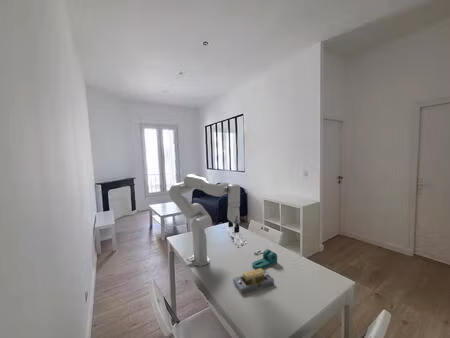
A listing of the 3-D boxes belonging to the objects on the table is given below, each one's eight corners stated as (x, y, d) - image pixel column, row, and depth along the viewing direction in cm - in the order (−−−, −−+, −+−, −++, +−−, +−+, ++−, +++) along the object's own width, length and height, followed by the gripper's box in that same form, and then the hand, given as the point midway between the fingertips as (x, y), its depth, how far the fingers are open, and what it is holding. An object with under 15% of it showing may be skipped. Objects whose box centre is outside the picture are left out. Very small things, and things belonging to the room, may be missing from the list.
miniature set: (225, 230, 199) (236, 231, 202) (236, 249, 165) (249, 249, 169) (225, 224, 198) (237, 224, 201) (237, 241, 165) (251, 241, 168)
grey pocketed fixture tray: (241, 294, 111) (240, 287, 111) (233, 282, 121) (233, 276, 121) (273, 284, 119) (273, 278, 118) (264, 274, 128) (264, 268, 128)
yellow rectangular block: (246, 288, 116) (246, 276, 115) (243, 284, 120) (243, 272, 119) (264, 283, 120) (264, 271, 120) (261, 279, 124) (261, 268, 123)
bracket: (270, 258, 147) (270, 248, 146) (277, 263, 141) (277, 252, 141) (250, 266, 138) (250, 255, 137) (256, 271, 132) (256, 259, 132)
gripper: (223, 200, 137) (223, 225, 138) (233, 207, 121) (233, 235, 122) (234, 199, 139) (233, 224, 141) (245, 206, 123) (244, 234, 125)
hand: (233, 229), depth 132 cm, fingers open, 9 cm apart
